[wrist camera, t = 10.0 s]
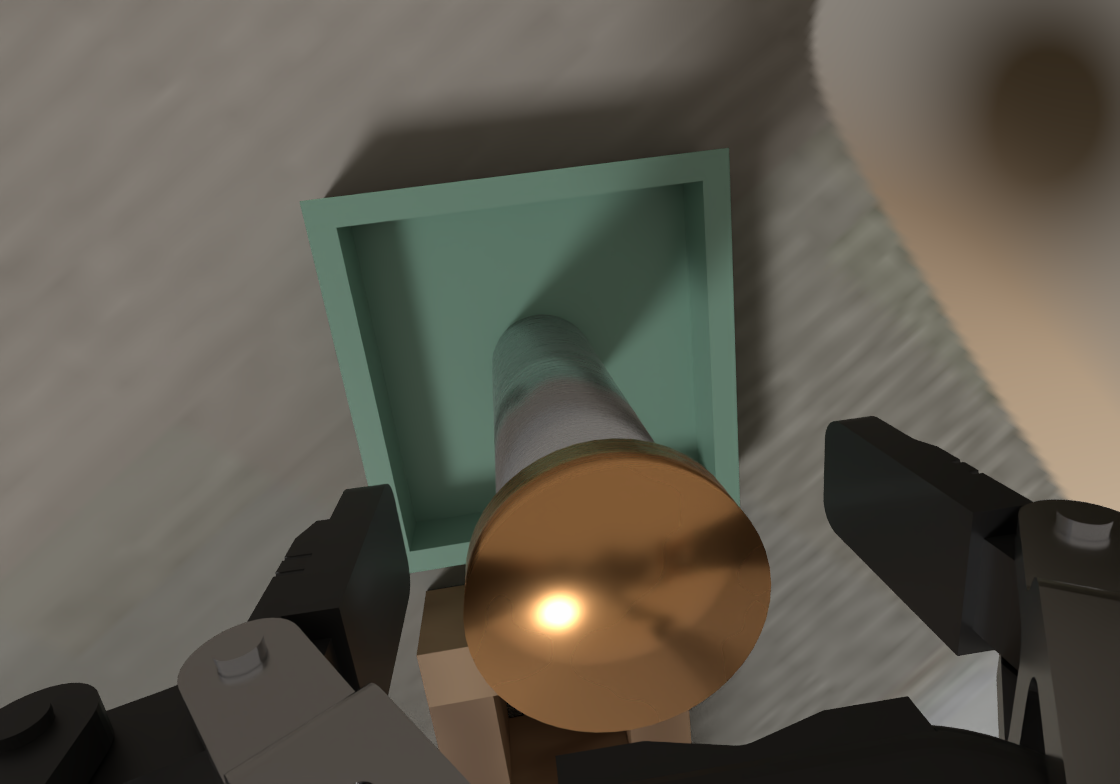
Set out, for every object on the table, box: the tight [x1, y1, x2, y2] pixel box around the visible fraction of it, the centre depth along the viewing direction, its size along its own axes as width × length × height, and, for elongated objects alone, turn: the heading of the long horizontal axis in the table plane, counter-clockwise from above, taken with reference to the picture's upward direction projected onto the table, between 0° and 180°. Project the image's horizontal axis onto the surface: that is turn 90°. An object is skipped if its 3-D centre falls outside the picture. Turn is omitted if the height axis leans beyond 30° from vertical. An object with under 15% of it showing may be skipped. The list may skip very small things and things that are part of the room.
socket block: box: [417, 585, 691, 784], centre depth 24 cm, size 9×9×4 cm
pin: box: [463, 314, 771, 733], centre depth 15 cm, size 4×4×13 cm
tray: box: [300, 148, 740, 573], centre depth 21 cm, size 12×12×2 cm
